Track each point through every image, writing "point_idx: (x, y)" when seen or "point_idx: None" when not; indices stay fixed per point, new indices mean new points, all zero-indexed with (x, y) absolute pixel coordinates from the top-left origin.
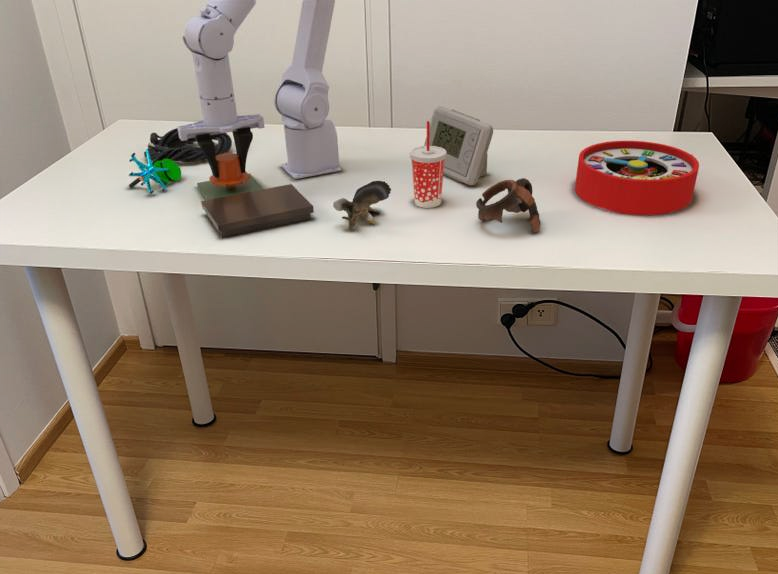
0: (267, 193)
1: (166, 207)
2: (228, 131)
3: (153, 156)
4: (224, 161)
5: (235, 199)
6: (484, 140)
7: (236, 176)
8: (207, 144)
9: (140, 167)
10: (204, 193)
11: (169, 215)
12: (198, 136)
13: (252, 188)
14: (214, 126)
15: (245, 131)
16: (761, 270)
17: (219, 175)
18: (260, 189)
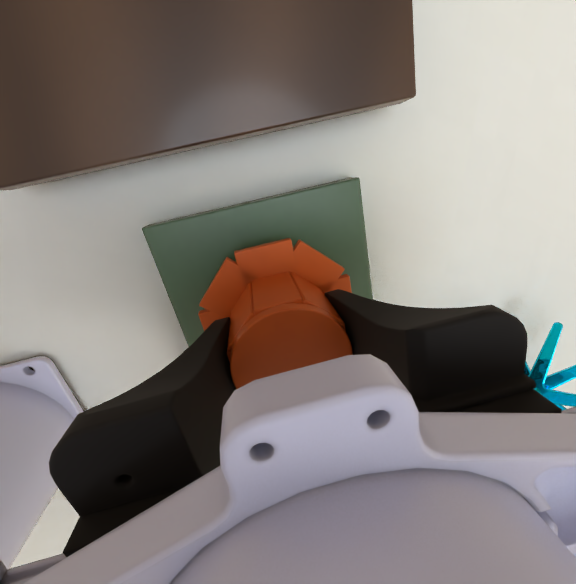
0: (102, 86)
1: (482, 221)
2: (289, 373)
3: None
4: (307, 309)
5: (266, 55)
6: None
7: (252, 284)
8: (463, 315)
9: (563, 407)
10: (368, 266)
11: (489, 146)
12: (541, 410)
13: (198, 271)
14: (479, 481)
15: (126, 507)
16: None
17: (324, 296)
18: (165, 253)
